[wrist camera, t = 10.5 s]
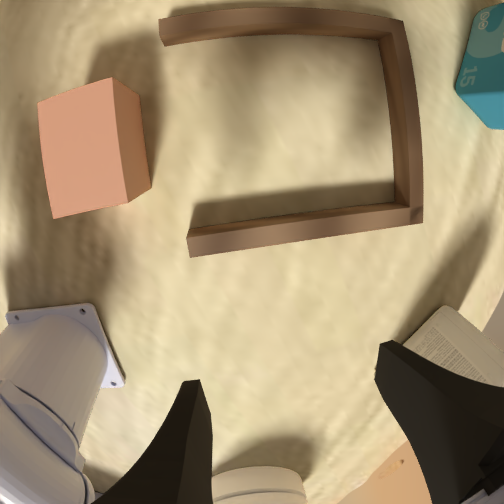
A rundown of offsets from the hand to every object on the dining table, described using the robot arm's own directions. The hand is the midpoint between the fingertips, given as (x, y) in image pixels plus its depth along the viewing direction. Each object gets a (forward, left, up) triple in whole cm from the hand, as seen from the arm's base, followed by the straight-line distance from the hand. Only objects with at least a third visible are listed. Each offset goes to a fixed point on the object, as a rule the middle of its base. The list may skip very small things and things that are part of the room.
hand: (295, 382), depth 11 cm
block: (-8, +10, -10) cm, 17 cm away
